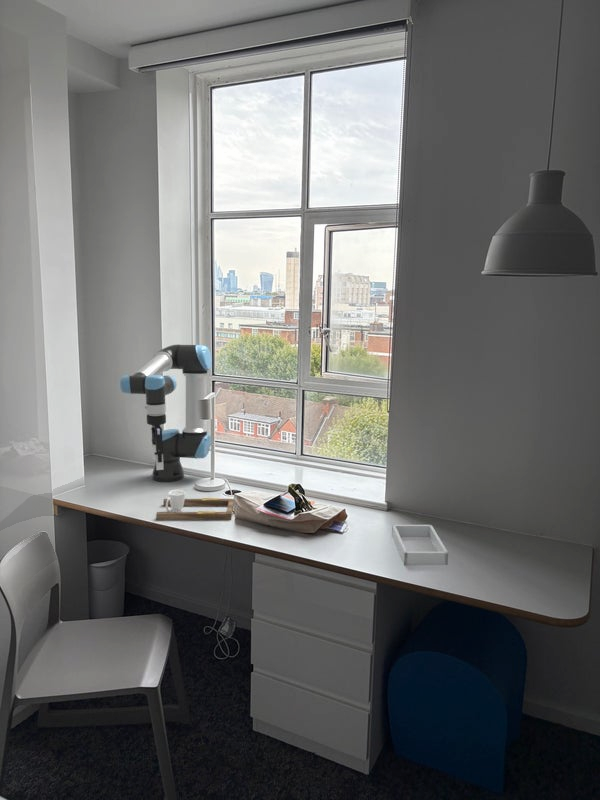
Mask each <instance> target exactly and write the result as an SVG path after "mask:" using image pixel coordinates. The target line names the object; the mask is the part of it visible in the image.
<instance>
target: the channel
mask: <svg viewBox="0 0 600 800" xmlns="http://www.w3.org/2000/svg"><path fill="white" fill-rule="evenodd" d="M167 499H168V498H164V499H163V500H162V501H163V503H162V504H163V507H166V501H167ZM168 507H171V504H170V500H169V501H168ZM183 507H227V508H226V511H215V510H213V511H212V510H211V511H210V510H207V511H206V510H205V511H203V510H202V511H201V510H200V511H182V512H173V511H171V512H169V511H157V512H156V514H155V516H156V518H155V519H156V520H157V521H163V520H164V521H168V520H169V521H170V520H172V521H173V520H175V521H176V520H177V521H180V520H181V521H182V520H183V521H187V520H188V521H190V520H191V521H192V520H193V521H194V520H196V521H199V520H200V521H201V520H204V521H205V520H206V521H207V520H210V521H212V520H214V521H215V520H216V521H217V520H218V521H219V520H221V521H222V520H225V521H226V520H227V521H229V520H232V518H233V513H234V507H235V498H220V497H207V498H206V497H202V498H185V499H184V505H183Z"/></svg>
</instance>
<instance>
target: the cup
mask: <svg viewBox="0 0 600 800" xmlns="http://www.w3.org/2000/svg"><path fill="white" fill-rule="evenodd" d="M167 494H168V498H166V499H167V501H166V506H165V509H166V512H184V509H183V508H184V506H183V505H184V499H186V491H184V490H182V489H173V490H170V491H168V493H167ZM169 500H170V504H171V506H170V507H171V509H172V510H170V509H169V506H168V501H169Z"/></svg>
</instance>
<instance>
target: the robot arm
mask: <svg viewBox="0 0 600 800" xmlns="http://www.w3.org/2000/svg"><path fill="white" fill-rule="evenodd" d="M212 363H213V362H212V355H211V351H210V349H209V347H208V346H206V345H200V344H171V345H169V346H166V347H164V348H162V349H160V350H158V351H157V352H156V353H154V355H153V356H152V359H150V360H149V361H148V362H147V363H146V364H144V365H143V366H142V367H141V368H140V369H138V370H137V371H136V372H135V373H134V374H132V375H130V374H129V375H123V376H122V377H121V378H120V382H119V387H120V391H121V392H122V393H123V394H129V395H145V401H146V402H145V405H146V406H144V409H146V424H147V425H149V426H150V425H151V429H150V431H151V444H152V447H151V448H152V461H154V462H155V463H154V467H153V471H152V475H151V476H152V480H154V481H157V482H162V483H165V482H166V483H167V482H168V483H169V482H174V481H180V480H182V479H184V477H185V470H184V468H183V465H182V463H181V458H185V459H197V460H198V459H205V458H206V457H207V456H208V454H209V452H210V449H211V445H212V438H211V434H209V433H208V430H207V429H206V428H205V424H204V423H205V419H204V420H202V419H199V417H198V400H201V399H204V400H205V377H206V375H208V371H210V370H211V369H212ZM169 370H182V375H183V376H184V377H185V427H184V428H183V429H182V431H181V432H180V430H179V428H178V429H176V428H170V429H169V428H168V429H163V428H162V426H161V425H165V424H166V423H167V414H166V412H167V405H166V404H167V403H166V396H167V395H169V394H172V393H173V392H174V391H175V390H176V388H177V381H176V379H175V378H174V376H172V375H170V374H169V375H167V374H166V375H162V374H163V373H164V372H168V371H169Z"/></svg>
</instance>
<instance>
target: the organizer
mask: <svg viewBox="0 0 600 800" xmlns="http://www.w3.org/2000/svg"><path fill="white" fill-rule="evenodd" d="M391 528H392V529H391V538H392V539H393V543H394V544H395V547H396V550H397V552H398V554H399V557H400V559H401V561H402V564H403V565H404V566H448V565H449V564H448V562H449V561H448V560H449V551H448V550H447V548H446V547H445V545H444V543H443V542H442V539H441V538H440V536H439V535H438V534H437V533H438V532H437V531H436V530H435V529H434V526H433V525H432V524H392V526H391ZM402 538H429V540H430V542H431V543H432V546H433V547H434V549H435V550H436V551H408V550H407V548H406V546H405V545H404V541H403V540H402Z"/></svg>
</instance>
